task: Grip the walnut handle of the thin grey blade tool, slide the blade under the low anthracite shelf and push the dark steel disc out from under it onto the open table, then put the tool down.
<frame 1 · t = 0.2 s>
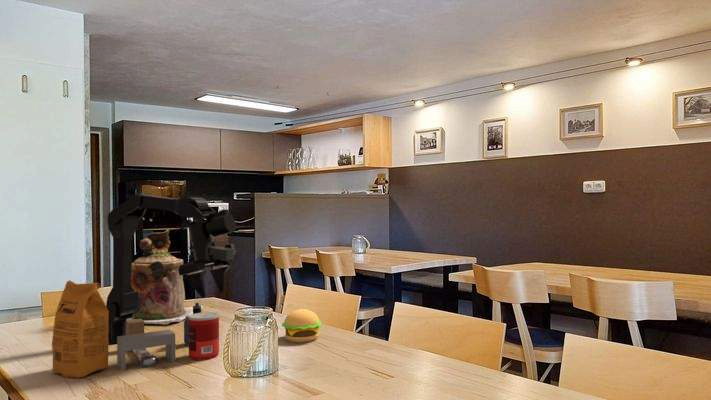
hand: (213, 294, 144), 15 cm above the table, tool pointing down, fingers open, 9 cm apart
steel token: (148, 365, 130), on the table
hamburger: (301, 339, 155), on the table
vaping device: (192, 344, 149), on the table
low shelf: (146, 362, 132), on the table
coffee package: (80, 372, 125), on the table
cookie jar: (158, 318, 186), on the table
canned food: (204, 356, 137), on the table
blade tool: (135, 349, 144), on the table
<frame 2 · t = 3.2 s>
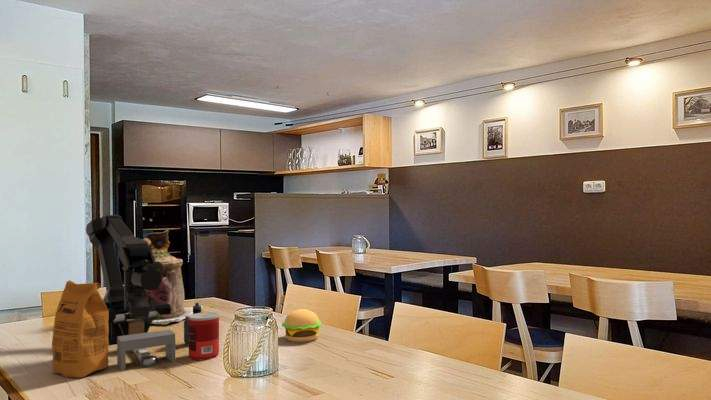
hand: (135, 342, 144), 2 cm above the table, tool pointing down, fingers closed on blade tool, 4 cm apart
blade tool: (135, 349, 144), on the table, touching gripper
everything else where it was.
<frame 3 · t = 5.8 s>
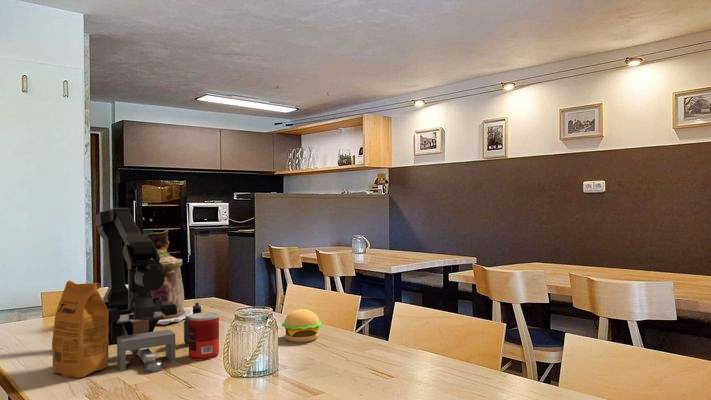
hand: (139, 343, 139), 3 cm above the table, tool pointing down, fingers closed on blade tool, 4 cm apart
steel token: (153, 370, 126), on the table
blade tool: (139, 351, 139), point 1 cm above the table, touching gripper
everything else where it was.
when the fingers open (2 cm above the table, at t = 8.1 s): blade tool stays where it is, on the table.
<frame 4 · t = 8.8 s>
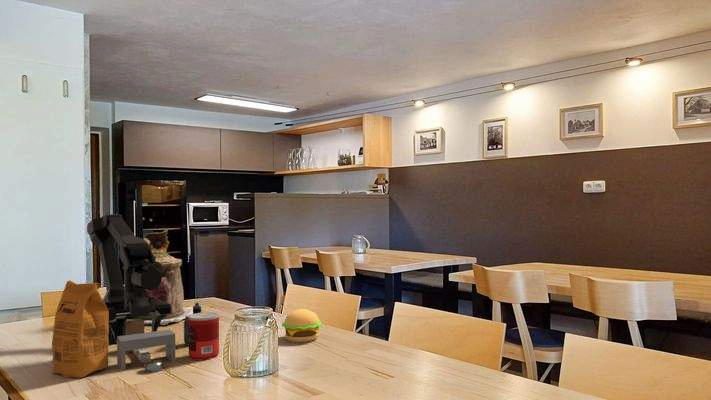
hand: (135, 341, 144), 2 cm above the table, tool pointing down, fingers open, 9 cm apart
blade tool: (135, 349, 144), on the table
everything else where it was.
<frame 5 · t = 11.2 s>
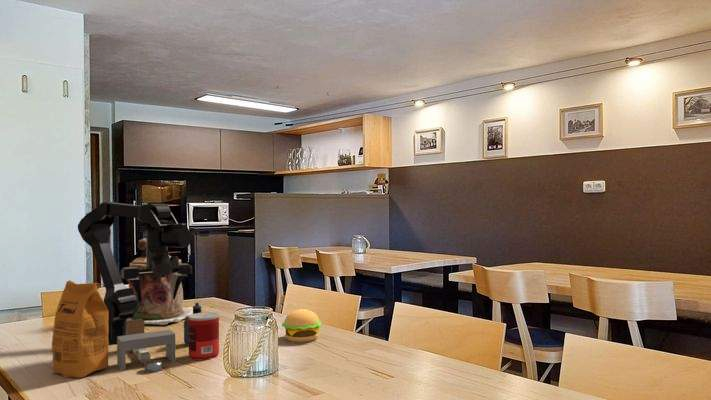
hand: (157, 300, 148), 13 cm above the table, tool pointing down, fingers open, 9 cm apart
nothing on the table moved.
at the end: steel token inside the target area (3.5 cm from its centre), on the table; steel token moved 5.2 cm from its start; the gripper is holding nothing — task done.
